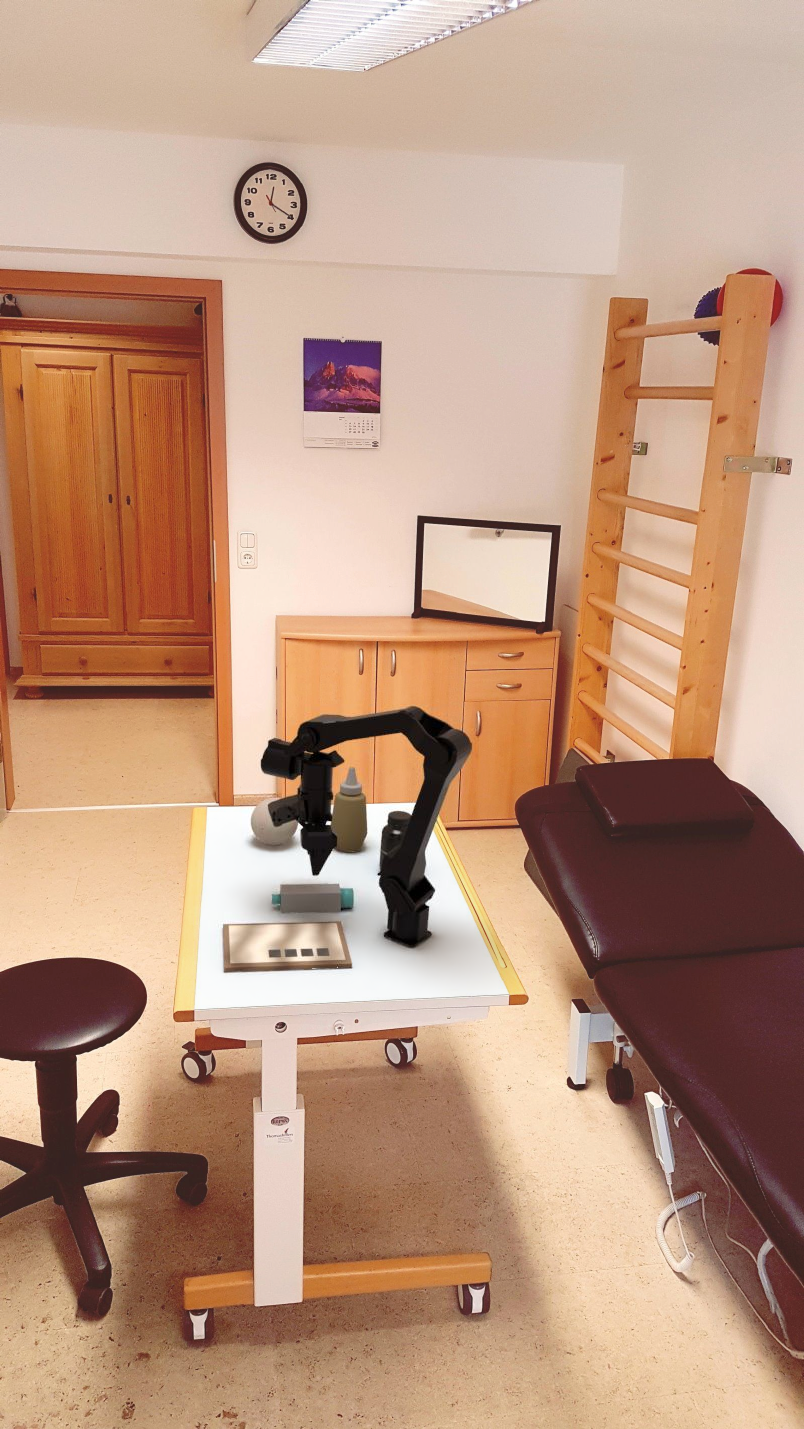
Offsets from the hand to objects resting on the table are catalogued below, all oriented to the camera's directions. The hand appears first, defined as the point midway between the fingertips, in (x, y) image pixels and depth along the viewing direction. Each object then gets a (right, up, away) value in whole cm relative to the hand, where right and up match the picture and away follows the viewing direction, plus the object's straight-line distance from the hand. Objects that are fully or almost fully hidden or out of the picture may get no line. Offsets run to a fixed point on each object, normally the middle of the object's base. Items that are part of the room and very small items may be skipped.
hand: (312, 864), depth 187 cm
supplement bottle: (+15, -4, +21) cm, 27 cm away
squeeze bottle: (+5, -1, +30) cm, 31 cm away
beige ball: (-11, 0, +30) cm, 32 cm away
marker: (-1, -8, +2) cm, 9 cm away
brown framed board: (-4, -12, -13) cm, 18 cm away
